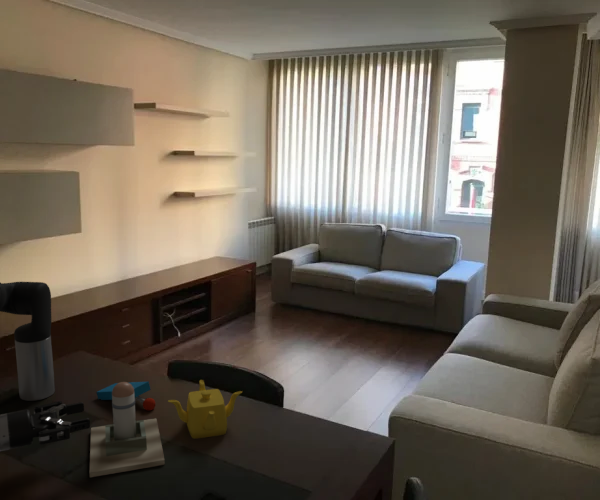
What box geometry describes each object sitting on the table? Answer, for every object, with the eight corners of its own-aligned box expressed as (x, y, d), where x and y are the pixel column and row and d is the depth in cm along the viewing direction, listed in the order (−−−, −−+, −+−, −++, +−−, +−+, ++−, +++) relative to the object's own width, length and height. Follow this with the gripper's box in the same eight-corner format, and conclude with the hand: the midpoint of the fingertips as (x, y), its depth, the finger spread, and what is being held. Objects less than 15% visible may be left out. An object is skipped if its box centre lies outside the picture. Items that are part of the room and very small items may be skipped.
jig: (91, 432, 138) (90, 416, 137) (156, 422, 143) (156, 407, 142) (89, 477, 119) (88, 460, 119) (164, 464, 125) (164, 447, 124)
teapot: (212, 447, 132) (212, 410, 130) (166, 433, 138) (165, 397, 136) (244, 421, 145) (244, 387, 143) (201, 409, 151) (200, 376, 149)
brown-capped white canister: (113, 439, 132) (110, 379, 130) (136, 435, 134) (133, 376, 131) (114, 450, 128) (111, 388, 125) (137, 446, 129) (134, 385, 126)
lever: (102, 415, 156) (145, 415, 146) (96, 392, 155) (139, 390, 146) (120, 405, 162) (163, 405, 152) (115, 383, 161) (157, 380, 152)
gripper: (6, 430, 110) (91, 412, 118) (3, 401, 122) (80, 386, 130) (9, 464, 112) (93, 444, 120) (6, 432, 124) (82, 415, 132)
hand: (86, 414), depth 125 cm, fingers open, 8 cm apart
